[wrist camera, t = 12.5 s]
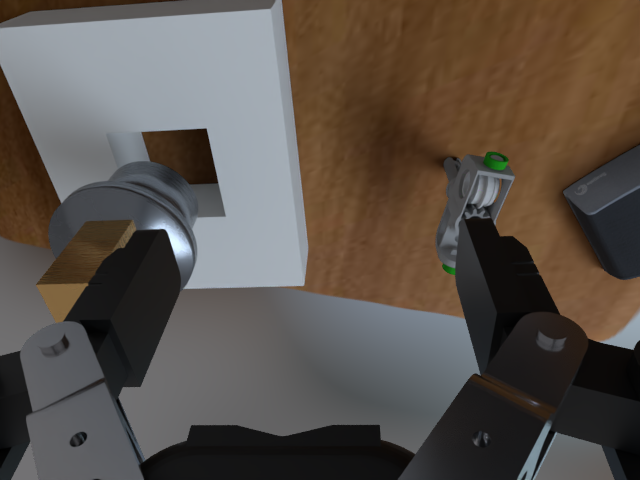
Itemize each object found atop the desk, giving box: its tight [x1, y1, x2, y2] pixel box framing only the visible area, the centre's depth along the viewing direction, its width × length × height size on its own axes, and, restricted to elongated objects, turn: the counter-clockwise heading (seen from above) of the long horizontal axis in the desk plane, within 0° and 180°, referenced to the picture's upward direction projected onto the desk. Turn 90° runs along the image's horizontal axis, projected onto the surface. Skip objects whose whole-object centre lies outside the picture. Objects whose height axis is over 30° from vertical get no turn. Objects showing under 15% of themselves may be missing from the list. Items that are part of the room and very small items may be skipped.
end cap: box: [36, 161, 198, 323], centre depth 32 cm, size 9×9×12 cm
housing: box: [0, 0, 308, 289], centre depth 42 cm, size 24×20×6 cm
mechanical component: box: [436, 152, 515, 275], centre depth 41 cm, size 3×10×10 cm, turn 171°
